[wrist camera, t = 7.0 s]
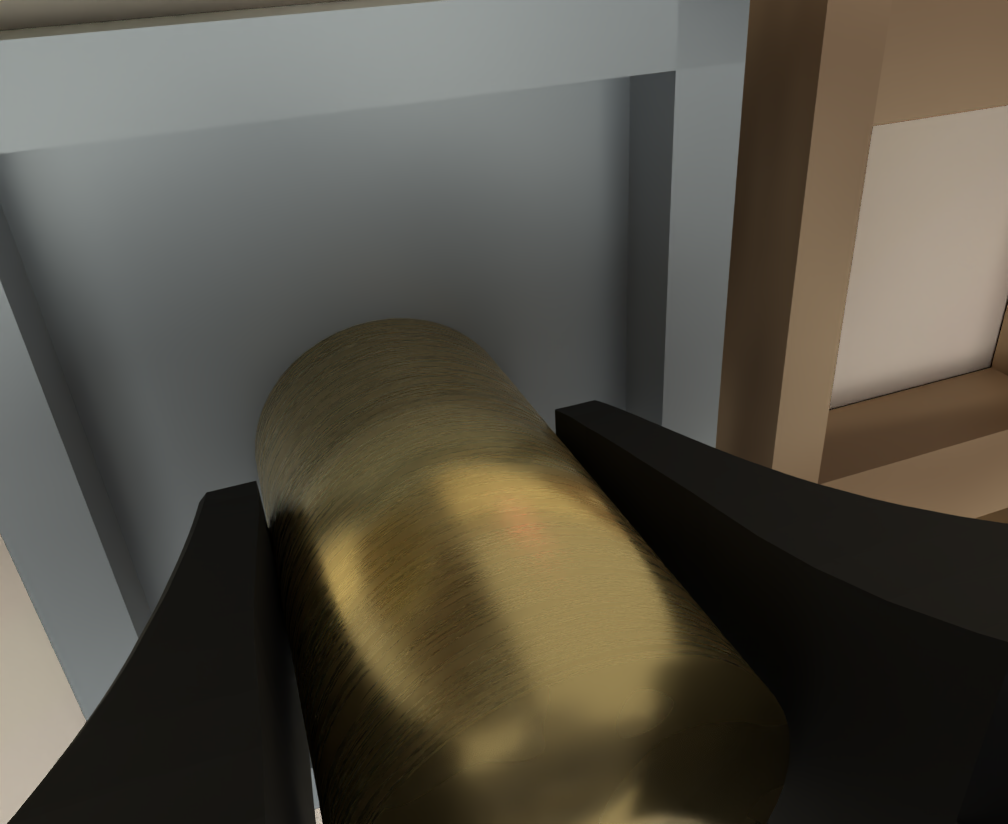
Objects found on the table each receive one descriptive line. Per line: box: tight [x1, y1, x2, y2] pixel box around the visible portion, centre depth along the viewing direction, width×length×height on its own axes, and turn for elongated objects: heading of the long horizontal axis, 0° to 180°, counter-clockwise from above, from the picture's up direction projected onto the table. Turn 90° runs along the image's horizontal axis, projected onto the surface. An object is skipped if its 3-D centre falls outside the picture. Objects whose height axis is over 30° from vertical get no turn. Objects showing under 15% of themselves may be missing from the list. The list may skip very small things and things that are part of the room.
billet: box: [255, 318, 790, 824], centre depth 10 cm, size 4×4×7 cm
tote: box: [0, 0, 750, 809], centre depth 12 cm, size 12×10×2 cm
